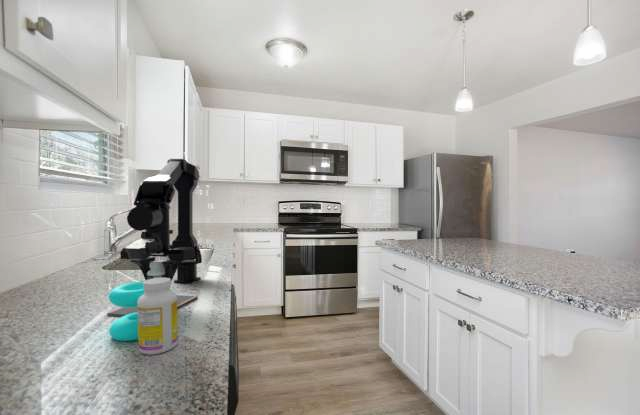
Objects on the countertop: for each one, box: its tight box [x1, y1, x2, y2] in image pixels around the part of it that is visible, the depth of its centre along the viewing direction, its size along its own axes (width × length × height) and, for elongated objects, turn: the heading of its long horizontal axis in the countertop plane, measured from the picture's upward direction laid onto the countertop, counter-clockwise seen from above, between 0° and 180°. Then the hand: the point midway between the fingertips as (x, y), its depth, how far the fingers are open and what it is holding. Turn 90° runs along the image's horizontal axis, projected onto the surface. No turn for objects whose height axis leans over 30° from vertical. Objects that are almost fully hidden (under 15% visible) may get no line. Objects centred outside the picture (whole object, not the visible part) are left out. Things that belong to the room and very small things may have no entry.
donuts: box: [108, 280, 145, 342], centre depth 65 cm, size 10×10×10 cm
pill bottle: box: [147, 259, 165, 280], centre depth 82 cm, size 5×5×9 cm
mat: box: [106, 294, 199, 318], centre depth 81 cm, size 16×14×1 cm
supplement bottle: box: [137, 278, 179, 356], centre depth 58 cm, size 7×7×13 cm
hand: (158, 285), depth 82 cm, fingers closed on pill bottle, 5 cm apart
